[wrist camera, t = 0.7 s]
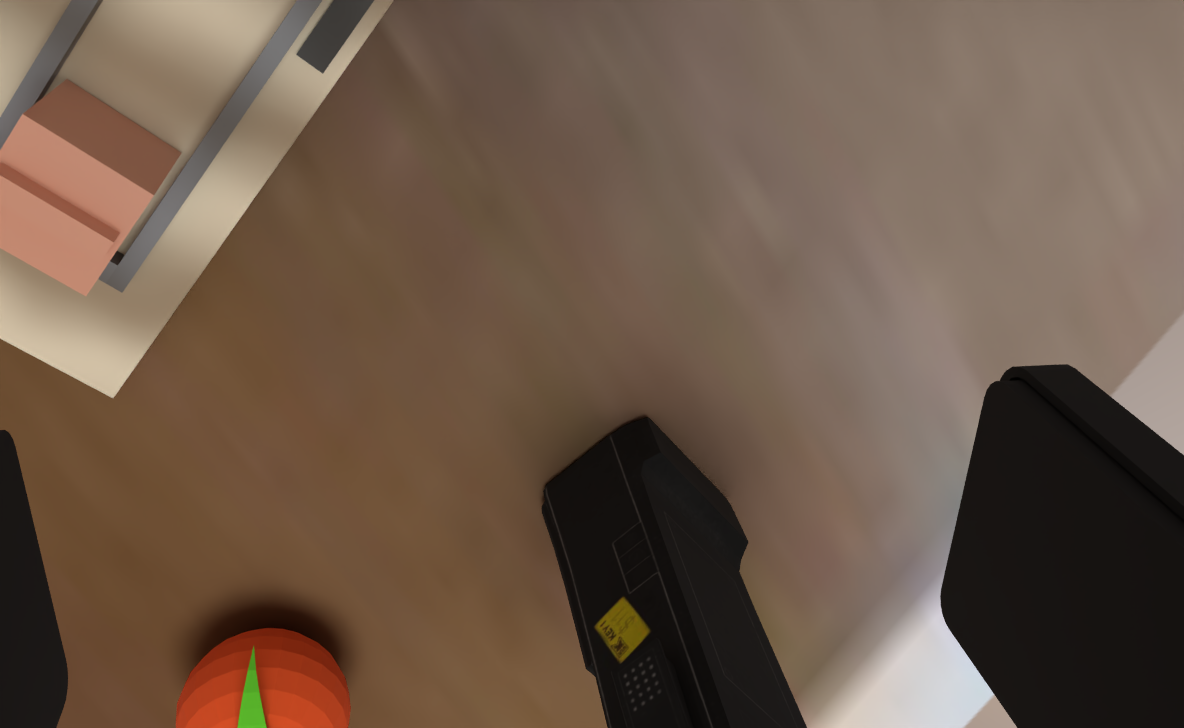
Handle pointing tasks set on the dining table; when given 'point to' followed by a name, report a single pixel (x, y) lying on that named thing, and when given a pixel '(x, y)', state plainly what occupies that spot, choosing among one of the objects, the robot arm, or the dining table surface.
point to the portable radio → (662, 590)
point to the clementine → (265, 685)
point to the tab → (76, 184)
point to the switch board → (182, 120)
